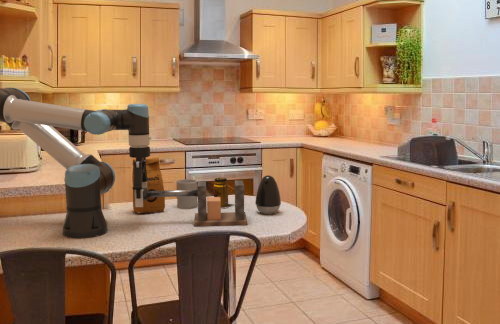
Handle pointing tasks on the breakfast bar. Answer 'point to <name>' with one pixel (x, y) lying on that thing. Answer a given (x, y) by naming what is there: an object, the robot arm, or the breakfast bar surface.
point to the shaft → (168, 193)
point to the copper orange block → (222, 191)
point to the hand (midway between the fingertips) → (141, 202)
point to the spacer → (213, 208)
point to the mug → (187, 201)
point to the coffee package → (151, 188)
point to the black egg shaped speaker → (268, 196)
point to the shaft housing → (226, 218)
